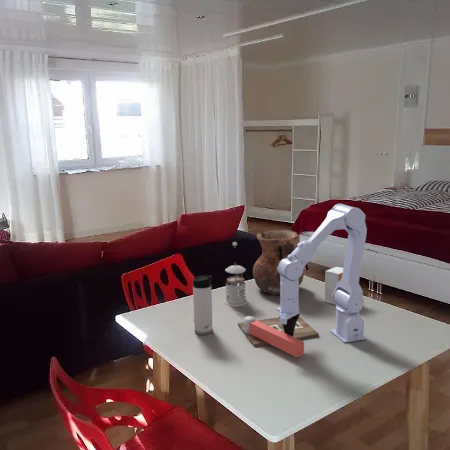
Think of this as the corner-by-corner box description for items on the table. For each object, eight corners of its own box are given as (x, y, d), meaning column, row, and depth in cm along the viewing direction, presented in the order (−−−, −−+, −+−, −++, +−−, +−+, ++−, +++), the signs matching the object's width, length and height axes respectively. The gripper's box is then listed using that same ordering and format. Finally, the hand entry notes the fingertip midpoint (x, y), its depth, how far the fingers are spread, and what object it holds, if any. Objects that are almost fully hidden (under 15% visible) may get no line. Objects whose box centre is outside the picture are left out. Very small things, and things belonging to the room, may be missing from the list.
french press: (220, 305, 182) (219, 244, 177) (229, 295, 193) (227, 237, 188) (244, 307, 179) (243, 245, 174) (251, 297, 190) (251, 238, 185)
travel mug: (211, 335, 156) (209, 279, 152) (192, 334, 157) (190, 278, 153) (215, 327, 162) (213, 273, 158) (197, 326, 163) (195, 272, 159)
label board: (318, 336, 153) (318, 333, 153) (253, 346, 147) (253, 343, 147) (297, 317, 169) (297, 314, 169) (237, 325, 163) (237, 322, 163)
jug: (242, 290, 199) (241, 234, 194) (273, 278, 213) (273, 225, 208) (283, 302, 183) (283, 242, 178) (313, 289, 198) (314, 232, 193)
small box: (337, 305, 179) (338, 274, 176) (324, 301, 184) (324, 270, 181) (348, 300, 185) (350, 269, 182) (335, 296, 189) (336, 266, 186)
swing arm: (296, 357, 137) (296, 343, 136) (242, 330, 156) (242, 318, 155) (304, 353, 139) (304, 340, 138) (250, 327, 158) (249, 315, 157)
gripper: (283, 287, 152) (283, 325, 155) (270, 302, 139) (270, 344, 142) (304, 290, 149) (304, 328, 152) (292, 305, 136) (292, 348, 139)
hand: (289, 336), depth 147 cm, fingers closed
